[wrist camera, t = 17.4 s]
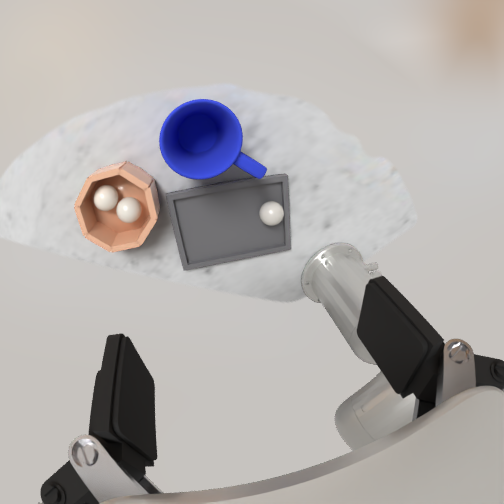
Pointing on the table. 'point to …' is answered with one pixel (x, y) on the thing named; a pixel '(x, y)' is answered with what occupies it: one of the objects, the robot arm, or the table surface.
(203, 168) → the mug
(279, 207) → the white ball
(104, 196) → the white ball
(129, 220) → the white ball
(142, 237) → the bowl
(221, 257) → the tray
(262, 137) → the table surface
